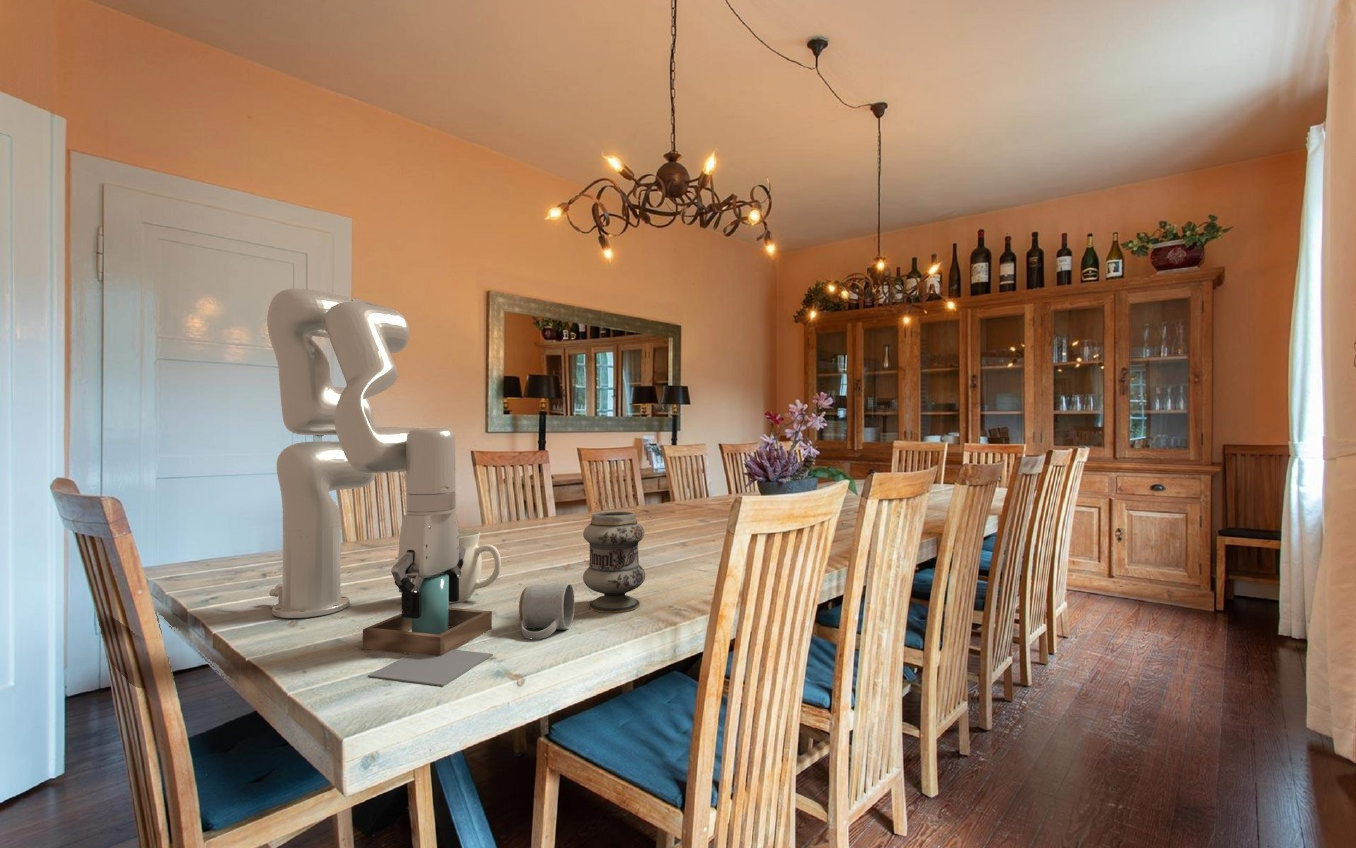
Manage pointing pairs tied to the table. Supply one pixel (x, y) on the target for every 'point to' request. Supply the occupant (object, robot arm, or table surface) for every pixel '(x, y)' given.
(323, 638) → the table surface
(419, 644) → the wooden tray
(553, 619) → the ceramic mug
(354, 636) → the table surface
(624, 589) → the apothecary jar
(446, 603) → the teal jug
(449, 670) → the slate mat
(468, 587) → the pitcher
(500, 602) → the table surface
